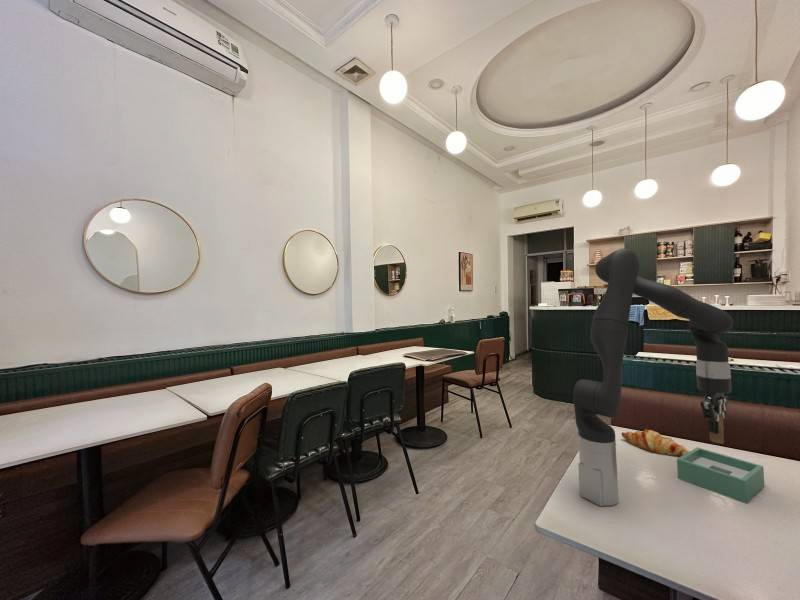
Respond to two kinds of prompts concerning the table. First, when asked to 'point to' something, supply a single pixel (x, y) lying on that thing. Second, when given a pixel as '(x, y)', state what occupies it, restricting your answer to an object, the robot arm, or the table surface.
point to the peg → (719, 437)
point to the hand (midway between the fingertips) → (716, 431)
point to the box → (721, 474)
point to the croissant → (655, 442)
